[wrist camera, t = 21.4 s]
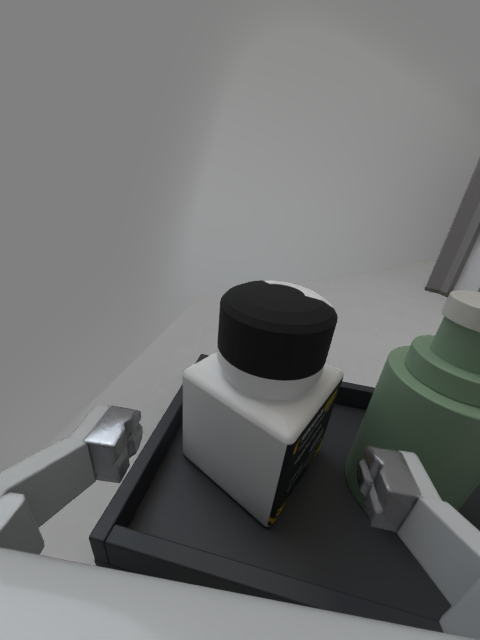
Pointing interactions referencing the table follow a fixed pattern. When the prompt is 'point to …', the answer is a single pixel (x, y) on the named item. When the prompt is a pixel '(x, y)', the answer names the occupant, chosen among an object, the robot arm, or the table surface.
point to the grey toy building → (461, 246)
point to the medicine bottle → (262, 394)
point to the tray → (269, 531)
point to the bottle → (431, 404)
